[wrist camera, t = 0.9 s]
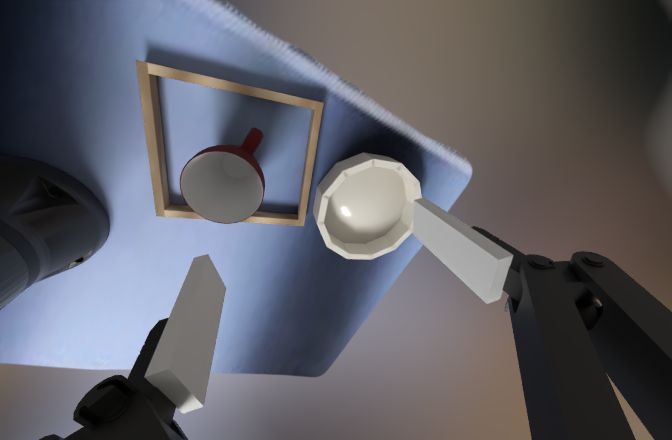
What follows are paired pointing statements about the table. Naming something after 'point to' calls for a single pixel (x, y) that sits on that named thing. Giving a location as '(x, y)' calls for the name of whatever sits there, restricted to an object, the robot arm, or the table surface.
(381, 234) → the bowl
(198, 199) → the mug
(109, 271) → the table surface
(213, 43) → the table surface
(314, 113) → the frame tray
